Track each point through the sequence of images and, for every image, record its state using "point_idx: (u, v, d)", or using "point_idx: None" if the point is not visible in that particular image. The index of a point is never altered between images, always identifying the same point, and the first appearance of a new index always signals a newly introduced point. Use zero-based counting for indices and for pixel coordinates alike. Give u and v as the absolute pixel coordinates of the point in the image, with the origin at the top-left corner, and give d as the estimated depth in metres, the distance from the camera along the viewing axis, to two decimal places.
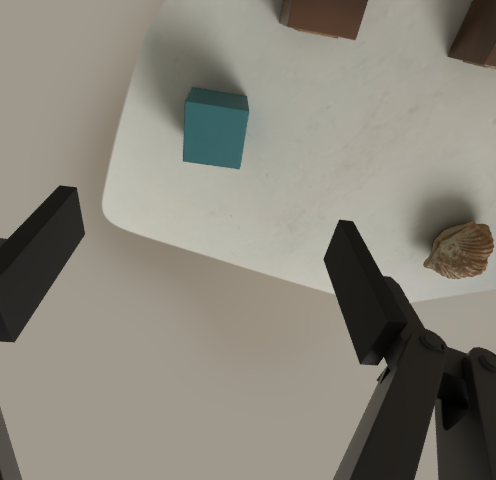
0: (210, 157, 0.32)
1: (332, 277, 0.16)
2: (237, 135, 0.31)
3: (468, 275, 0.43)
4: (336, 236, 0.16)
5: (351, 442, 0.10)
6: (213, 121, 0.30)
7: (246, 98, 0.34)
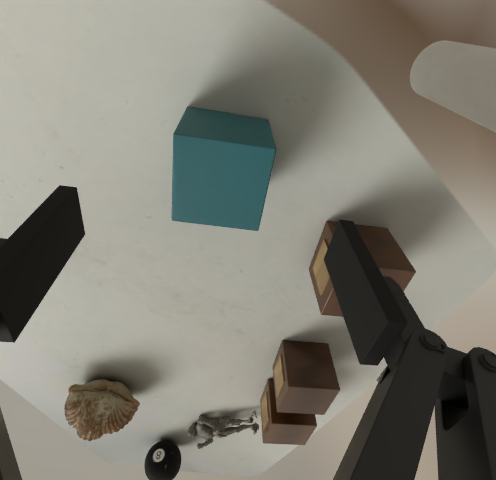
0: (186, 180, 0.20)
1: (332, 277, 0.16)
2: (224, 218, 0.21)
3: (79, 435, 0.39)
4: (336, 236, 0.16)
5: (351, 442, 0.10)
6: (244, 188, 0.20)
7: None
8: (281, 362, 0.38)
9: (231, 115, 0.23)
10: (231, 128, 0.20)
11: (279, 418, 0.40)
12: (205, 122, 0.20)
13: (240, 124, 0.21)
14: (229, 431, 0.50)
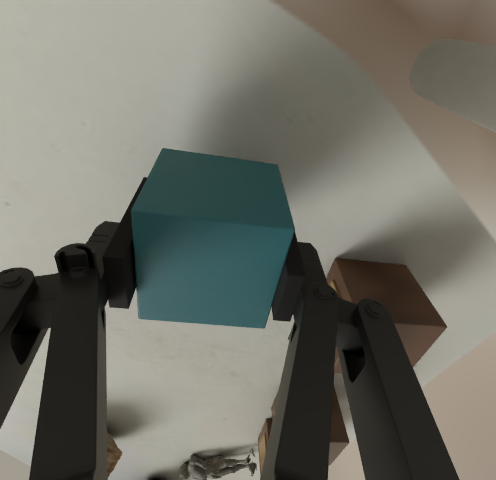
0: (156, 270, 0.13)
1: None
2: (215, 315, 0.15)
3: None
4: None
5: (276, 406, 0.10)
6: (245, 279, 0.13)
7: None
8: None
9: (225, 160, 0.16)
10: (225, 188, 0.13)
11: None
12: (186, 178, 0.14)
13: (238, 179, 0.14)
14: (224, 472, 0.46)
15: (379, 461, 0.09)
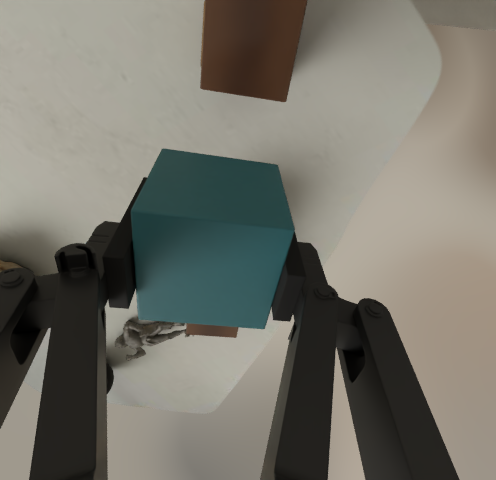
0: (156, 271, 0.13)
1: None
2: (215, 315, 0.15)
3: None
4: None
5: (276, 406, 0.10)
6: (245, 280, 0.13)
7: None
8: None
9: (225, 161, 0.16)
10: (225, 189, 0.13)
11: None
12: (186, 179, 0.14)
13: (237, 179, 0.14)
14: (160, 338, 0.44)
15: (379, 461, 0.09)
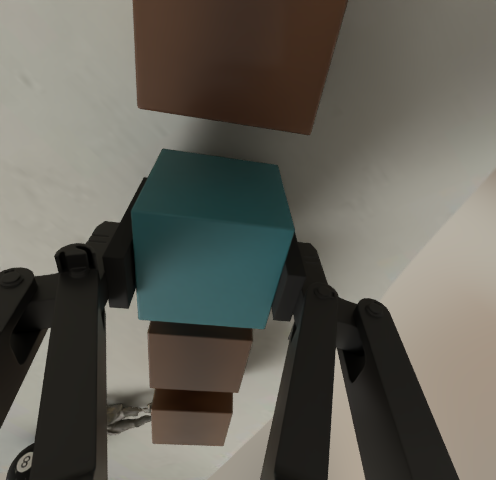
0: (156, 271, 0.13)
1: None
2: (215, 315, 0.15)
3: None
4: None
5: (276, 406, 0.10)
6: (245, 280, 0.13)
7: None
8: None
9: (225, 161, 0.16)
10: (225, 189, 0.13)
11: (167, 401, 0.23)
12: (186, 179, 0.14)
13: (238, 180, 0.14)
14: (124, 425, 0.33)
15: (379, 461, 0.09)
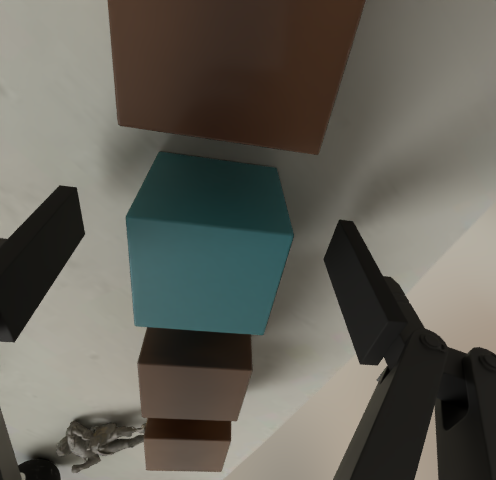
0: (152, 277, 0.12)
1: (332, 277, 0.16)
2: (213, 322, 0.14)
3: None
4: (336, 236, 0.16)
5: (351, 442, 0.10)
6: (243, 285, 0.13)
7: None
8: None
9: (223, 164, 0.15)
10: (222, 193, 0.13)
11: (161, 428, 0.22)
12: (182, 183, 0.13)
13: (236, 183, 0.14)
14: (117, 446, 0.32)
15: None
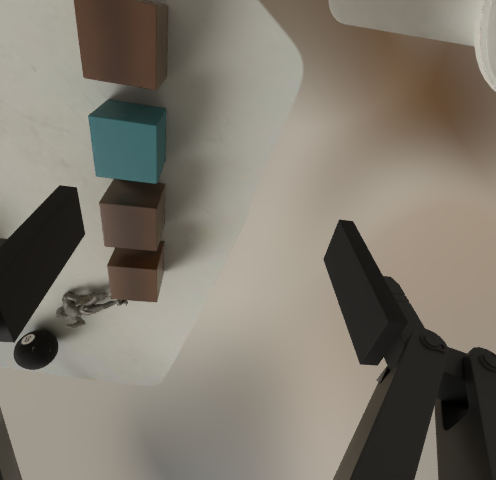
0: (101, 147, 0.30)
1: (332, 277, 0.16)
2: (131, 174, 0.32)
3: None
4: (336, 236, 0.16)
5: (351, 442, 0.10)
6: (141, 152, 0.30)
7: None
8: None
9: (138, 105, 0.33)
10: (132, 113, 0.31)
11: (117, 262, 0.39)
12: (115, 109, 0.31)
13: (140, 111, 0.31)
14: (96, 307, 0.49)
15: None
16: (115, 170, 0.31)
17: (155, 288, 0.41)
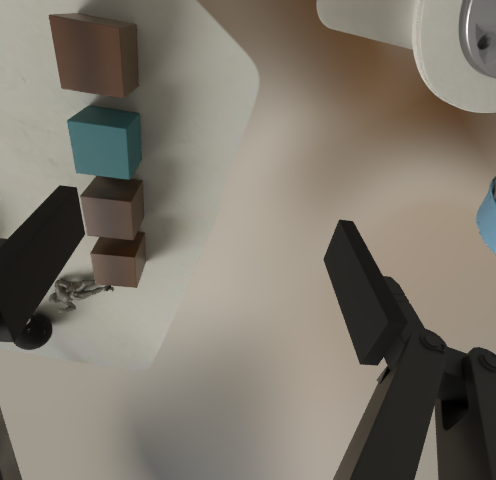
0: (79, 147, 0.34)
1: (332, 277, 0.16)
2: (107, 171, 0.36)
3: None
4: (336, 237, 0.16)
5: (351, 442, 0.10)
6: (114, 152, 0.35)
7: (139, 162, 0.41)
8: None
9: (114, 110, 0.37)
10: (107, 118, 0.35)
11: (100, 250, 0.44)
12: (92, 114, 0.35)
13: (115, 116, 0.36)
14: (85, 293, 0.54)
15: None
16: (92, 167, 0.36)
17: (134, 274, 0.46)
